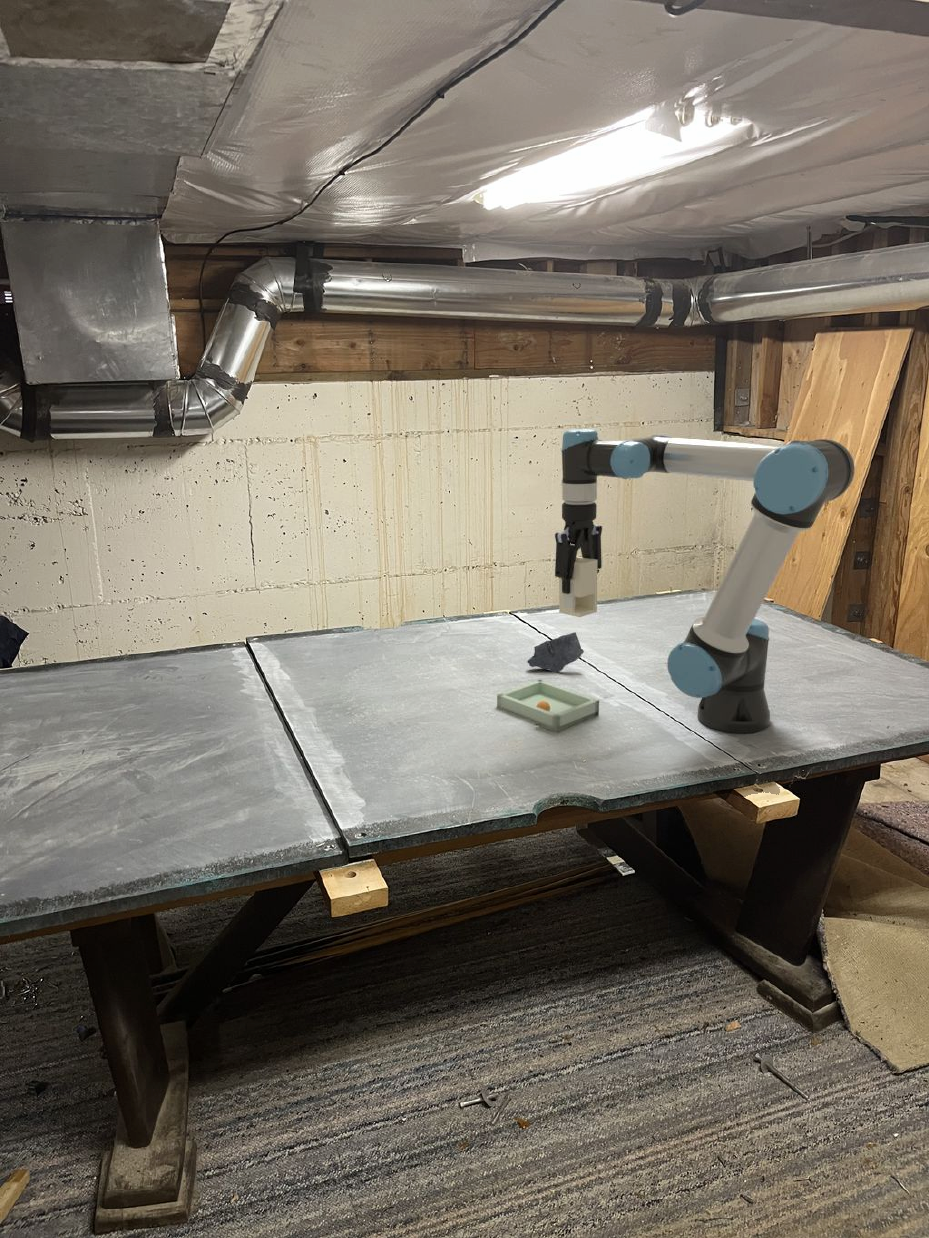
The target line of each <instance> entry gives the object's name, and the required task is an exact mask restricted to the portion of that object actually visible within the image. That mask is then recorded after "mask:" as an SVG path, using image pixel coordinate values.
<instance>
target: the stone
mask: <svg viewBox="0 0 929 1238" xmlns="http://www.w3.org/2000/svg"><path fill="white" fill-rule="evenodd" d="M533 648H534V653H533V655H532V656H531V657H530V658H529V659H528V660H527V664H528V665H529V666H530V667H531V668H534V667H538V668H540V669H542V670H548V671H550V672H551V673H555V674H559V673H560V672H561V671H563V670H564V668H565V667H566V666H567V665H569V664H572V663H573V662H575V661H577V660H578V659H581V657H582V655H583V653H585V651H584V649H583V648H582V646H581V643H580V640H579V637H578V635H577V632H571V633H567V634H563V635H560V636H559V637H556V638H554V639H550V640H546V641H543V642H542V643H540V644H538V645H535V646H534V647H533Z"/></svg>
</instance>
